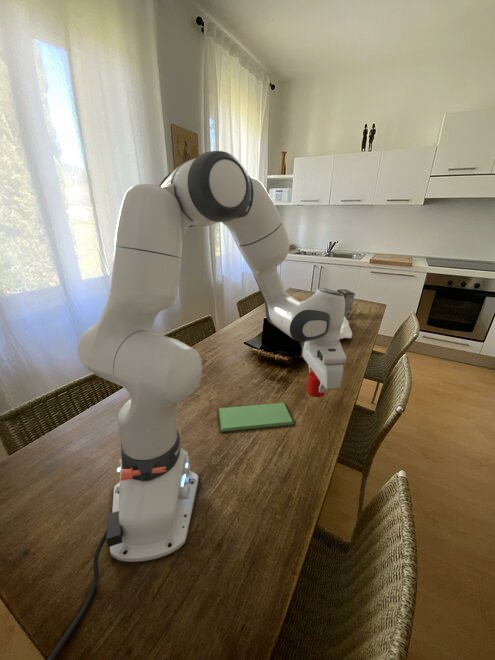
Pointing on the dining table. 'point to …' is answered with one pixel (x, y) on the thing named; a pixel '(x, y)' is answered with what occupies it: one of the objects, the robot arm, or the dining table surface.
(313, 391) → the pepper
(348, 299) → the coffee box
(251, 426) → the towel
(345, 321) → the crumpled cloth
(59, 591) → the dining table surface
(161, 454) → the robot arm
